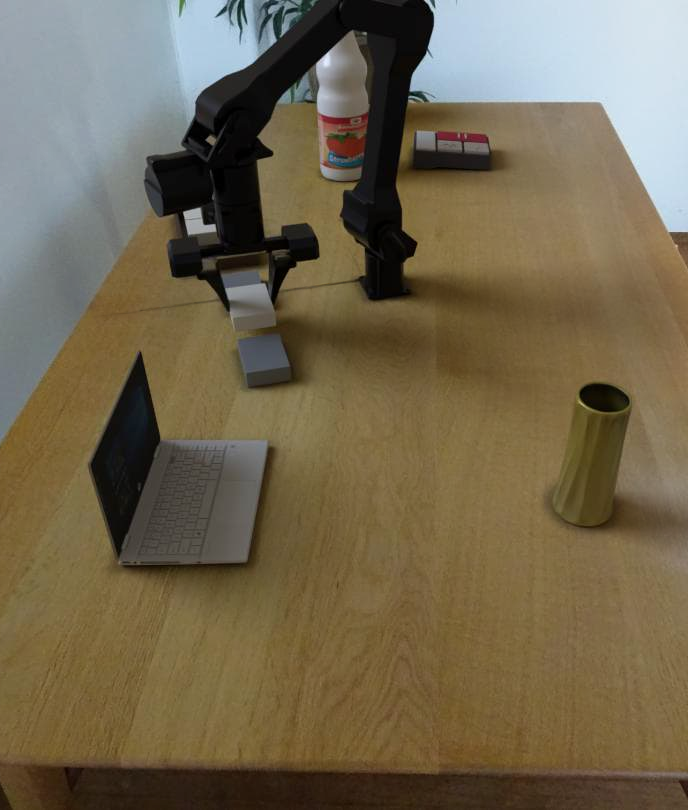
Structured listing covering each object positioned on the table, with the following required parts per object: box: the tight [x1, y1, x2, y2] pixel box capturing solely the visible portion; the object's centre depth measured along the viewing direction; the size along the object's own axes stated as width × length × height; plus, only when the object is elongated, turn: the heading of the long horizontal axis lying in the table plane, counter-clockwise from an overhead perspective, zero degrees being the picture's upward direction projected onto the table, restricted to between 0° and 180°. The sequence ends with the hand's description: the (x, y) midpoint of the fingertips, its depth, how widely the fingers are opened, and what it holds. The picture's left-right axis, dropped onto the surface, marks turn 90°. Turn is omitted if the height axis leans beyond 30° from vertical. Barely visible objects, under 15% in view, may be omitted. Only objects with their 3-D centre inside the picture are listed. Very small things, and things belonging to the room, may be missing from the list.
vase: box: [552, 380, 634, 527], centre depth 79 cm, size 6×6×14 cm
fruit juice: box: [316, 30, 369, 182], centre depth 147 cm, size 9×9×28 cm
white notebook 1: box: [183, 208, 202, 229], centre depth 136 cm, size 8×6×2 cm
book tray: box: [173, 212, 260, 271], centre depth 131 cm, size 21×11×2 cm, turn 17°
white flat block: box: [226, 282, 277, 333], centre depth 108 cm, size 8×6×2 cm
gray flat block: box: [236, 332, 292, 388], centre depth 103 cm, size 8×6×2 cm
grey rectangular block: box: [221, 269, 263, 316], centre depth 117 cm, size 8×6×2 cm
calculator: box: [412, 130, 492, 171], centre depth 160 cm, size 11×4×15 cm
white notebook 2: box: [186, 219, 220, 246], centre depth 131 cm, size 8×6×2 cm
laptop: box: [87, 349, 270, 566], centre depth 80 cm, size 18×12×13 cm
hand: (250, 307), depth 108 cm, fingers closed on white flat block, 5 cm apart
